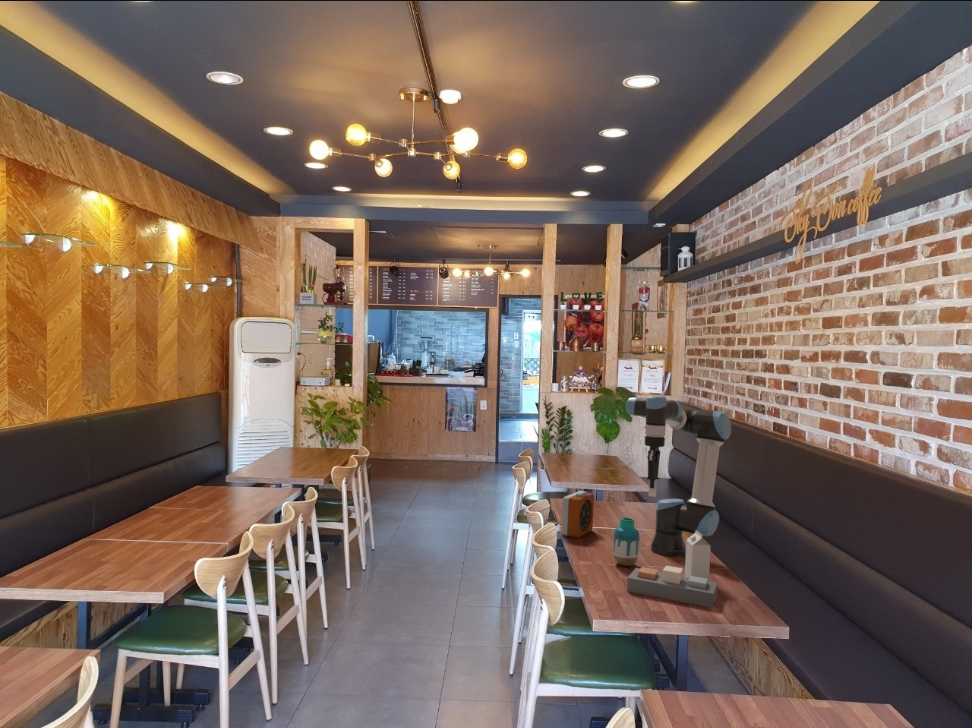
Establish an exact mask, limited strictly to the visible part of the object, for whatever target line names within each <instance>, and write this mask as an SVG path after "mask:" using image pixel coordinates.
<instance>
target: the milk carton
mask: <svg viewBox="0 0 972 728" xmlns="http://www.w3.org/2000/svg"><path fill="white" fill-rule="evenodd" d="M685 543H686V544H685V547H686V553H685V563H684V566H685V567H684V577H691V576H695V577H701V578H706V579H708V581H710V569H711V568H710V567H711V566H710V565H711V563H710V562H711V545H710V544H709V543H708V542H707V541H706V540H705V539H704V538H703V536H702V534H700V533H699V532H698V531H697V530H695V533H694V534H692V535H691V536H689V537H688V538H687V539H686V541H685Z"/></svg>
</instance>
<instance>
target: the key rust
mask: <svg viewBox="0 0 972 728" xmlns="http://www.w3.org/2000/svg"><path fill="white" fill-rule="evenodd" d="M658 572H659V570H658V569H654V568H649V567H643V566H641V567H640V570H639V571H638V577H642V578H648V579H653V580H655V579H656V578H657V576H658Z"/></svg>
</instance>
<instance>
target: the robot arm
mask: <svg viewBox="0 0 972 728" xmlns="http://www.w3.org/2000/svg"><path fill="white" fill-rule="evenodd" d="M625 412H627V414H628V415H629V416H633V417H636V416H637V417H641V418H645V425H644V426H643V429H644V430H645V431H644V434H645V436H644V445H645V446H646V447H649V450H648V451H647V456H646V458H647V478H646V479H647V480H648V491H647V492H648V493H647V494H648V495H647V496H648V497H654V498H655V497H657V487H658V482H657V481H658V480H660V477H659V468H660V460H661V459H660V458H661V450H660V448H663V447H665V444H666V438H665V436H666V425H667V426H669V427H670V428H672V429H673V430H676V431H679V432H682V433H685V434H688V435H692V436H696V439H695V440H696V441H697V442H698V448H697V449H698V451H697V457H696V463H695V470H694V471H695V472H694V479H693V484H692V485H693V486H692V492H691V496H690V498H689V499H687V501H686V504H685V501H684V499H682V498H681V499H680V498H665V499H659V500H658V501H657V502H656V508H655V514H656V515H655V516H656V517H655V533H654V535H653V537H652V539H651V542H650V550H651V552H654V553H656V554H659V555H663V556H668V557H669V556H670V557H673V556H674V557H679V556H683V555H684V556H685V555H686V544H685V543H686V542H685V540H684V537H683V533H684V532H685V533H688V534H692V535H693V534H694V533H695V530H697V531H698V532H699V533H700V534H702V537H706V538H707V537H710V536H712V535H714V533H715V532H716V530H717V528H718V526H719V522H720V514H719V512H718V511H717V509H716V505H715V504H714V502H713V497H714V491H715V483H716V477H717V468H718V461H719V455H720V454H719V453H720V447H721V446H723V445H724V443H725V440H728V439H729V438H730V437H731V434H732V423H731V419H730V416H729V415H728V414H727V413H726V412H725V411H724V412H723V411H719V410H718V411H717V410H710V409H709V410H707V409H698V408H697V409H695V408H683V405H682V404H681V403H680V402H679V401H678V400H673V399H669V400H668V399H667V397H666V396H662V395H649V396H648V397H647V398H643V397H629V398H628V399H627V401H626V403H625Z"/></svg>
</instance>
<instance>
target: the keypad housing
mask: <svg viewBox="0 0 972 728" xmlns="http://www.w3.org/2000/svg"><path fill="white" fill-rule="evenodd" d="M640 569H641V567H640V568H639V567H635V568H634V569H633V571H631V573H630V574H629V576H627V581H626V582H627V586H626V591H627V592H628V593H629V592H630V593H634V594H639V595H645V596H650V597H655V598H660V599H665V600H669V601H675V602H680V603H686V604H689V605H690V604H691V605H695V606H699V607H700V606H701V607H706V608H711V609H713V608H714V606H715V603H716V600H717V597H718V582H716V581H711V580H709V581H708V587H707V589H701V588H696V587H691V586H688V580H689V579H690V577H685V575H682V582H681V584H675V583H669V582H664V581H663V571H658V576H657V578H656V579H655V580H653V579H648V578H642V577H638V571H639V570H640Z"/></svg>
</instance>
